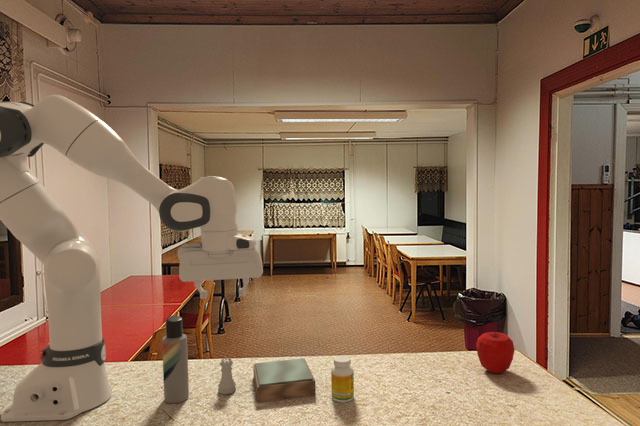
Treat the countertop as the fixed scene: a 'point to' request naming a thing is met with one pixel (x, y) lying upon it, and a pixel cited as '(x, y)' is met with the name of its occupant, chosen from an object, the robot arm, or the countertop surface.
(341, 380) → the supplement bottle
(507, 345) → the apple
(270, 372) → the walnut plinth
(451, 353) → the countertop surface
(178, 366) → the lotion bottle
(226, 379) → the rook chess piece
